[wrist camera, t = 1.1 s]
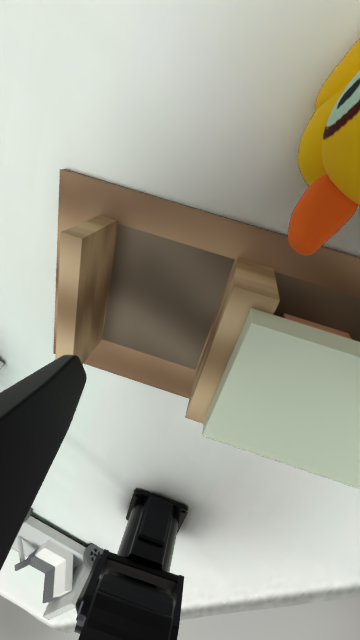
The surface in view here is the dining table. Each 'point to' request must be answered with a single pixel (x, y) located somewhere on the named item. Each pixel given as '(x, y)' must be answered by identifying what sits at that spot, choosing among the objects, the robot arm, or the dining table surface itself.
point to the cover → (291, 397)
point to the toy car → (55, 563)
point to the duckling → (330, 159)
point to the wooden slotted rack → (179, 286)
